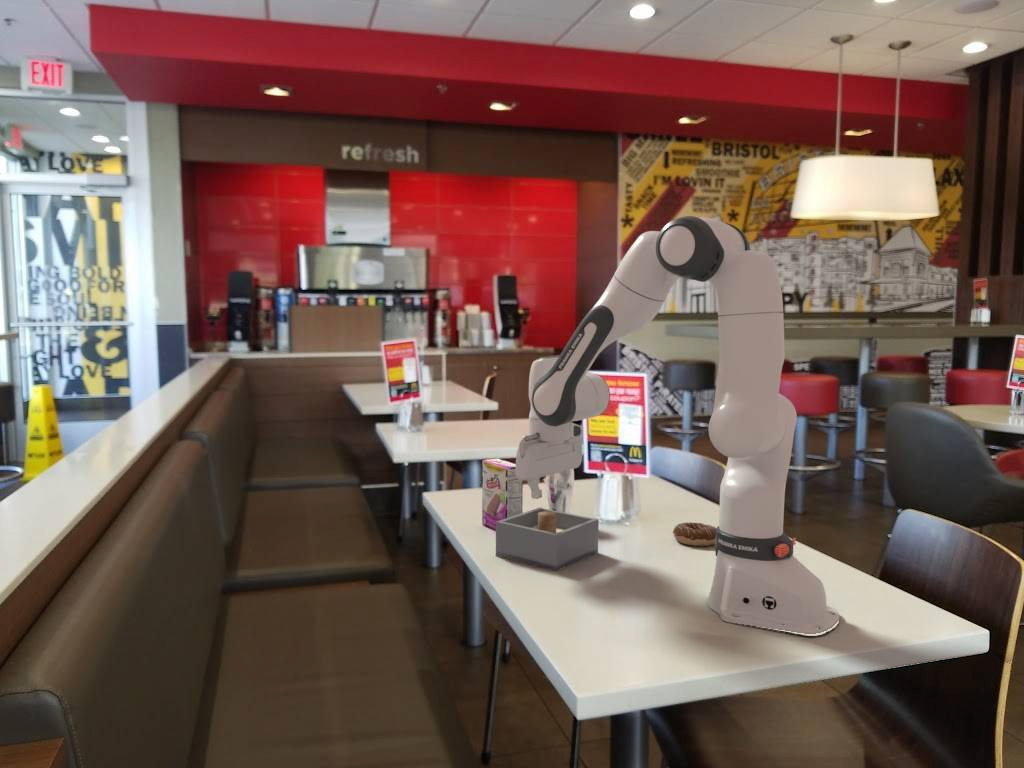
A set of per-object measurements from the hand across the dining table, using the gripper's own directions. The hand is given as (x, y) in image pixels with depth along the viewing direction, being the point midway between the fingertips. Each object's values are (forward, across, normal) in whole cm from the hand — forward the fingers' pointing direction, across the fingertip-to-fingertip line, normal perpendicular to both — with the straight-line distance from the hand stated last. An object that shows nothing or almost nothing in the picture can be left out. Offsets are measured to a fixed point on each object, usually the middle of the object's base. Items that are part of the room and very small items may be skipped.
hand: (549, 494), depth 173 cm
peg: (+12, 0, +1) cm, 12 cm away
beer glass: (+13, +22, +13) cm, 29 cm away
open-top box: (+13, 0, +1) cm, 13 cm away
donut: (+14, +30, -20) cm, 39 cm away
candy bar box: (+13, +9, +21) cm, 26 cm away
